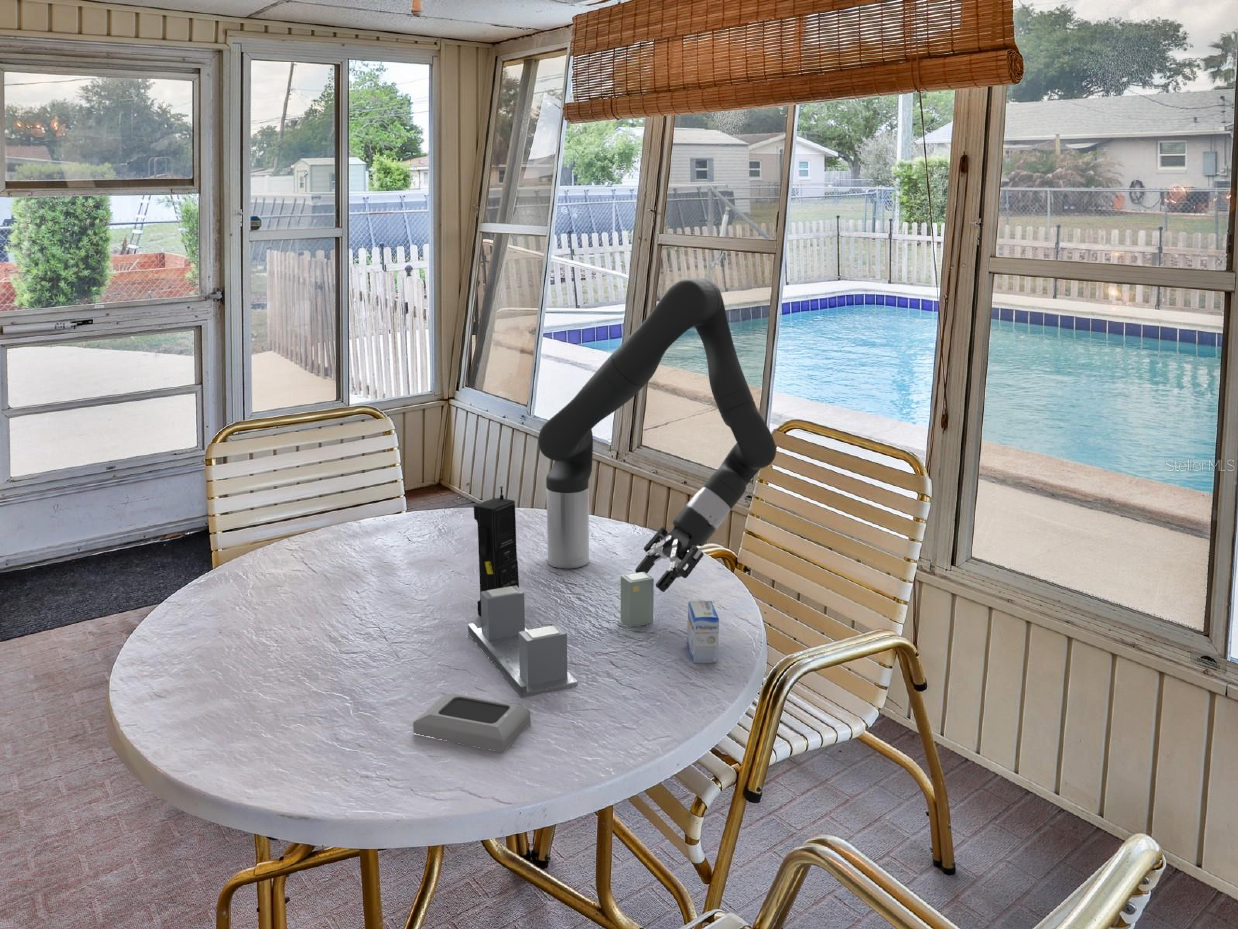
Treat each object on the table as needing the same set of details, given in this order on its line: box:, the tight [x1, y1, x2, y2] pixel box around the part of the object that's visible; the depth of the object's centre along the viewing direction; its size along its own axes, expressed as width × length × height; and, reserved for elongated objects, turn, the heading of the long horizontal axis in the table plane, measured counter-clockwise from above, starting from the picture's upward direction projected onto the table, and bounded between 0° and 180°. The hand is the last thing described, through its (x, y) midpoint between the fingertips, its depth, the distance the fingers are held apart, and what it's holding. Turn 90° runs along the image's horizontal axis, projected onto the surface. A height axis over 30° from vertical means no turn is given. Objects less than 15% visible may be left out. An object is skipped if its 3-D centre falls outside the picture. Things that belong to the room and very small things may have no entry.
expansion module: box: [620, 572, 655, 628], centre depth 196 cm, size 4×5×9 cm
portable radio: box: [473, 486, 520, 618], centre depth 197 cm, size 8×6×25 cm
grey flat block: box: [412, 693, 532, 753], centre depth 157 cm, size 10×4×15 cm
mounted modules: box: [480, 586, 568, 686], centre depth 180 cm, size 24×7×8 cm, turn 26°
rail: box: [467, 622, 579, 699], centre depth 181 cm, size 28×10×2 cm, turn 26°
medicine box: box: [686, 600, 720, 664], centre depth 182 cm, size 8×4×9 cm, turn 5°
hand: (648, 581), depth 197 cm, fingers open, 8 cm apart
